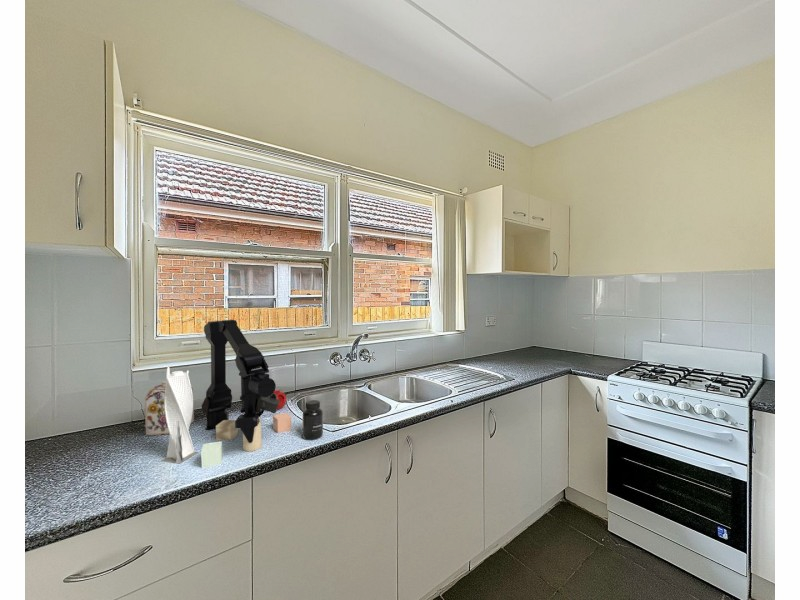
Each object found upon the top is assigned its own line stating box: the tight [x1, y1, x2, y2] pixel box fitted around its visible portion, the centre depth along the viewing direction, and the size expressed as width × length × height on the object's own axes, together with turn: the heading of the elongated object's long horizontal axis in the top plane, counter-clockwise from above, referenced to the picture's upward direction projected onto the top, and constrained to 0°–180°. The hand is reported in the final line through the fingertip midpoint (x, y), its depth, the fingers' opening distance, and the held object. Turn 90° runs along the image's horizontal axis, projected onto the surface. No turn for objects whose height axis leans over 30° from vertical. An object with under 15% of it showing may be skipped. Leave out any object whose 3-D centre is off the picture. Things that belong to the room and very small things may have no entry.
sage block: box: [200, 440, 223, 468], centre depth 104 cm, size 5×5×5 cm
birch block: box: [215, 419, 239, 441], centre depth 122 cm, size 5×5×5 cm
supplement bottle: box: [302, 399, 324, 441], centre depth 121 cm, size 7×7×12 cm
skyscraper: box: [160, 366, 199, 465], centre depth 108 cm, size 8×8×28 cm
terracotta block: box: [272, 412, 293, 434], centre depth 128 cm, size 5×5×5 cm
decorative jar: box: [144, 379, 195, 436], centre depth 129 cm, size 12×12×18 cm
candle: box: [242, 418, 263, 452], centre depth 113 cm, size 6×6×10 cm
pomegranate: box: [274, 389, 287, 411], centre depth 150 cm, size 10×10×9 cm
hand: (252, 438), depth 113 cm, fingers closed on candle, 5 cm apart
